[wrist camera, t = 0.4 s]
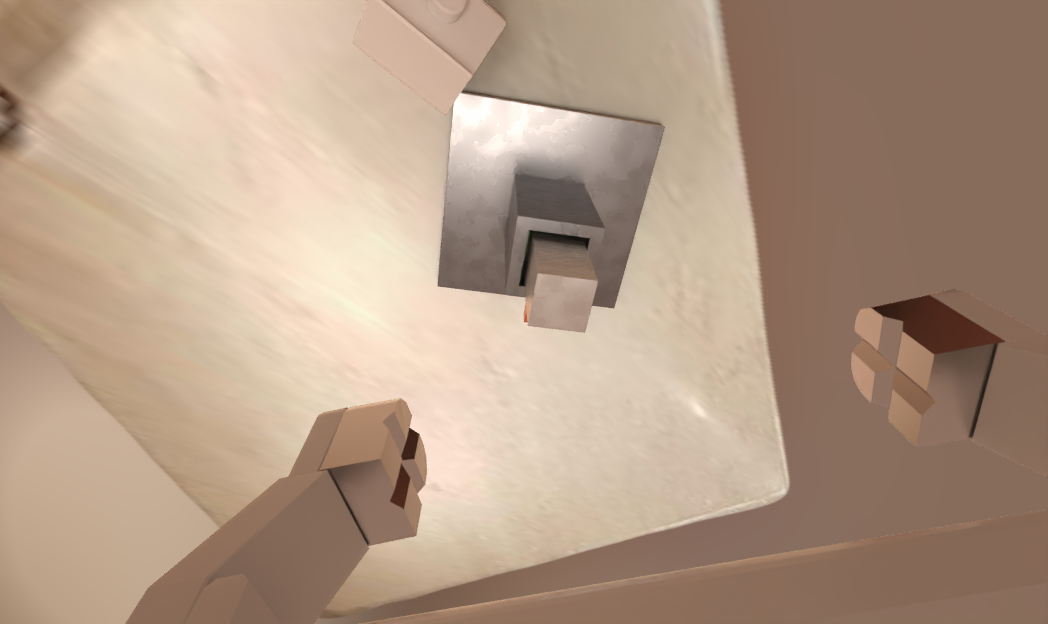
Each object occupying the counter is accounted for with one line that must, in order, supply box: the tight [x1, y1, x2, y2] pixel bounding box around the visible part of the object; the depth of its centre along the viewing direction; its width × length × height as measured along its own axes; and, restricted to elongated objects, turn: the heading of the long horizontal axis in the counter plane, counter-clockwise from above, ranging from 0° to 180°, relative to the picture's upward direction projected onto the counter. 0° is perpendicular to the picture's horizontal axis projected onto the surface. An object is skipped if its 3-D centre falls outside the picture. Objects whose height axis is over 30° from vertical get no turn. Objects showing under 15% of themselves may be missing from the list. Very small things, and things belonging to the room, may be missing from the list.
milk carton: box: [353, 0, 507, 115], centre depth 38 cm, size 7×7×19 cm
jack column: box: [522, 230, 598, 333], centre depth 44 cm, size 4×4×18 cm
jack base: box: [438, 91, 665, 322], centre depth 49 cm, size 20×20×14 cm
